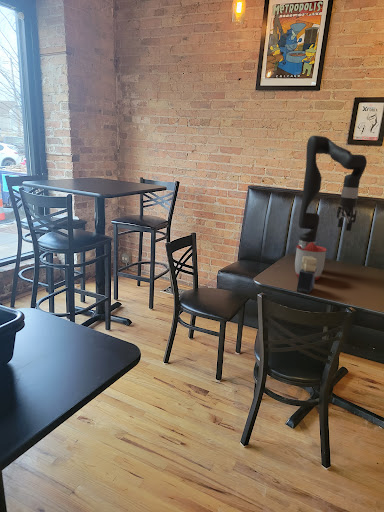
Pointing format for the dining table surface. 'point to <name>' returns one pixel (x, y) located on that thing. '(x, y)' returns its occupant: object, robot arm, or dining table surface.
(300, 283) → the small box
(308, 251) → the citrus juicer
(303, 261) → the maple block
